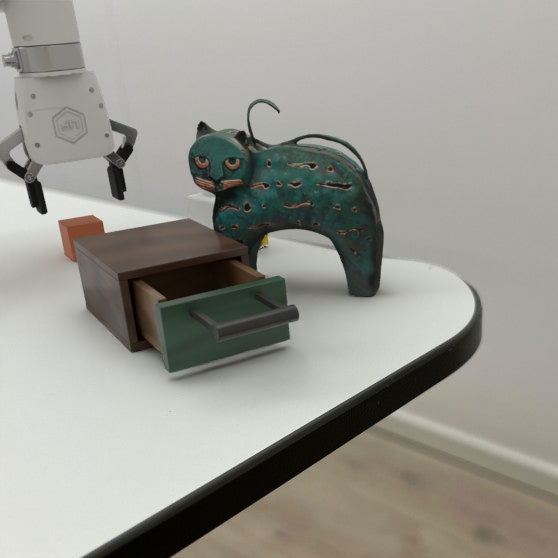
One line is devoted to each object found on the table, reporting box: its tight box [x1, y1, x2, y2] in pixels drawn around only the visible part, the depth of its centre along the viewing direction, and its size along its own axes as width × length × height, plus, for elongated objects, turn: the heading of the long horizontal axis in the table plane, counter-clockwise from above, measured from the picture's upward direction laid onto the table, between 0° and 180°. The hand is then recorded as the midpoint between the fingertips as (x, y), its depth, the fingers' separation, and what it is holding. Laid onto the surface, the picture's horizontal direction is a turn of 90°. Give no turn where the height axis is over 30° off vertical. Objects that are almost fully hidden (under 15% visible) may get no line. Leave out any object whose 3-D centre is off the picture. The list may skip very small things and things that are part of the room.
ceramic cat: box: [187, 98, 385, 297], centre depth 80 cm, size 20×6×20 cm, turn 75°
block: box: [57, 214, 106, 263], centre depth 99 cm, size 4×4×4 cm
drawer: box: [128, 258, 300, 374], centre depth 68 cm, size 20×11×6 cm, turn 34°
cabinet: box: [73, 217, 250, 353], centre depth 77 cm, size 15×13×8 cm
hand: (81, 205), depth 97 cm, fingers open, 9 cm apart
